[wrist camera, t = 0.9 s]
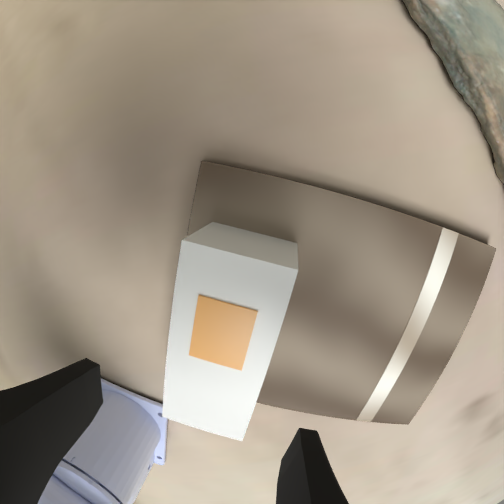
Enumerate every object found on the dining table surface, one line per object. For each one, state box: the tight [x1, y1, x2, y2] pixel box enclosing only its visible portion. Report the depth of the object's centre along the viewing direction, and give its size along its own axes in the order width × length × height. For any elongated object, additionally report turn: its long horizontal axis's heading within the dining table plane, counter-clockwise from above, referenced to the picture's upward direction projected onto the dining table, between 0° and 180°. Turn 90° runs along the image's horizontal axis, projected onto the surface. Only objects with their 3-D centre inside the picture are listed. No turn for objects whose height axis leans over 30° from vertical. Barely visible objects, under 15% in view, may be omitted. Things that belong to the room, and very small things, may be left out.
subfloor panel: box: [187, 161, 496, 424], centre depth 17 cm, size 14×18×1 cm
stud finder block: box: [162, 222, 298, 441], centre depth 15 cm, size 10×4×5 cm, turn 167°
